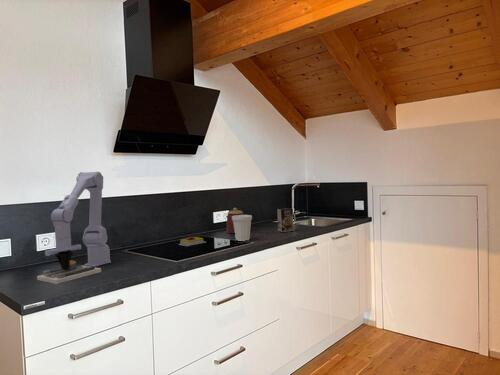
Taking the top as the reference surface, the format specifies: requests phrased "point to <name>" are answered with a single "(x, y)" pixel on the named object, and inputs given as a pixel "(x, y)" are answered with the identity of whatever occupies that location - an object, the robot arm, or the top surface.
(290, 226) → the coffee box
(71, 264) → the breaker lever
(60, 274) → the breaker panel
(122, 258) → the top surface
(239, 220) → the cup
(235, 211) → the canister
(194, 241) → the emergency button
